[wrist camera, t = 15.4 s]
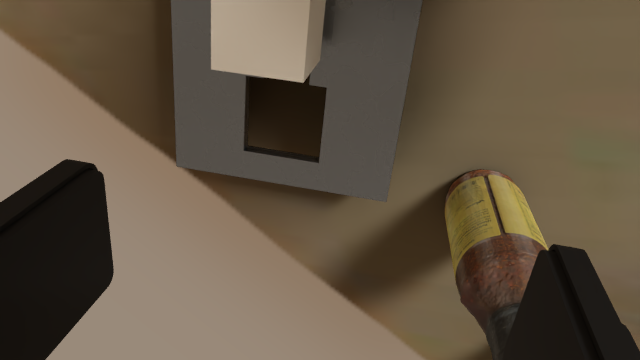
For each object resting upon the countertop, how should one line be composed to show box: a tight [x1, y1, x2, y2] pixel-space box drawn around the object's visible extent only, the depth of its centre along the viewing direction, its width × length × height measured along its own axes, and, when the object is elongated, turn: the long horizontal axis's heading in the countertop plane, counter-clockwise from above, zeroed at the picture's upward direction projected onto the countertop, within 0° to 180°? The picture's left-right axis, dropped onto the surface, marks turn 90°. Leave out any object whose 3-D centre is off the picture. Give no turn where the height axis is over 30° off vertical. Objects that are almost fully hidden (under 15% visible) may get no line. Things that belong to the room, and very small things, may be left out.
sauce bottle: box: [445, 169, 548, 360], centre depth 34 cm, size 7×6×20 cm
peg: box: [211, 0, 326, 83], centre depth 32 cm, size 5×5×14 cm
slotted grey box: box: [171, 0, 422, 202], centre depth 37 cm, size 17×16×6 cm
